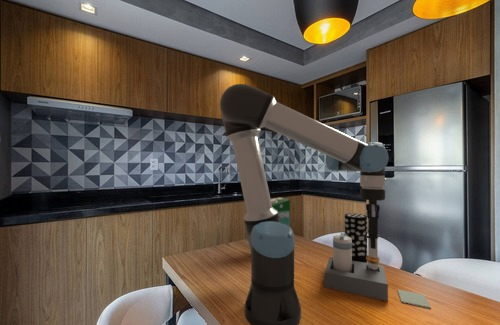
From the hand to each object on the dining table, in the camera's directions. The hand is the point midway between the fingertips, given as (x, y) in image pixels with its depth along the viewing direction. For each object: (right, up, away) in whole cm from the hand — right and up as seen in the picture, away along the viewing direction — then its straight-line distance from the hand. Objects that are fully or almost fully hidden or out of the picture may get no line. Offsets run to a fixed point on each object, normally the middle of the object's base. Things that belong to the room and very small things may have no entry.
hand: (372, 256), depth 79 cm
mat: (+7, -9, -10) cm, 15 cm away
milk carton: (-30, -9, +26) cm, 41 cm away
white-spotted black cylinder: (+1, -9, +14) cm, 17 cm away
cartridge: (-10, -9, +1) cm, 14 cm away
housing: (-6, -9, 0) cm, 11 cm away
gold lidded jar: (0, -7, 0) cm, 7 cm away
